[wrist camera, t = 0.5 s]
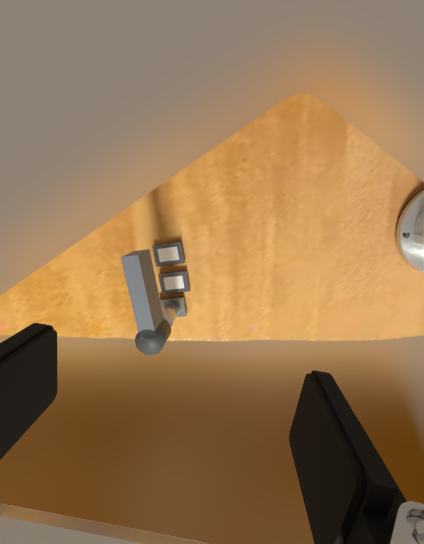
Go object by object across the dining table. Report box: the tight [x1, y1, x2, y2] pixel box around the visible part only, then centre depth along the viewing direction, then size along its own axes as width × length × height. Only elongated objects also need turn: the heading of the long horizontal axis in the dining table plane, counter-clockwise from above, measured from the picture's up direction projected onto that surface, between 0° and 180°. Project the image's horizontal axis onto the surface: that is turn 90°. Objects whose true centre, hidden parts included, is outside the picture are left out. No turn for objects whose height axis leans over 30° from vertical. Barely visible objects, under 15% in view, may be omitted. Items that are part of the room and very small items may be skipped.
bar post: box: [160, 296, 187, 326], centre depth 38 cm, size 4×3×7 cm
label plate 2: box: [158, 270, 190, 294], centre depth 41 cm, size 4×3×1 cm
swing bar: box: [121, 249, 171, 355], centre depth 32 cm, size 3×12×4 cm, turn 9°
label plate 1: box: [153, 241, 185, 266], centre depth 39 cm, size 4×3×1 cm
